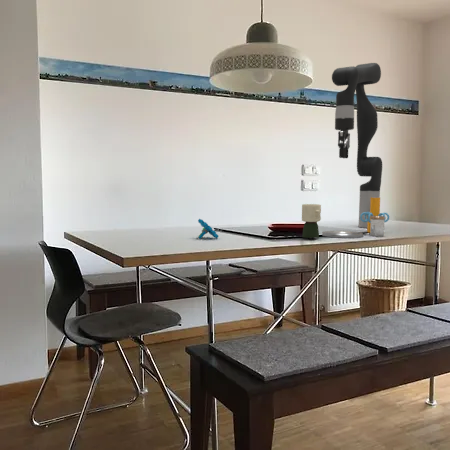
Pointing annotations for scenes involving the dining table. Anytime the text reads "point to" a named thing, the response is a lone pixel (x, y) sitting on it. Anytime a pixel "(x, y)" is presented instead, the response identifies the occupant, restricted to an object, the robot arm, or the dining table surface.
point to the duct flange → (342, 234)
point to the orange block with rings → (373, 212)
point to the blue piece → (206, 229)
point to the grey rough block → (377, 226)
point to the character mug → (311, 220)
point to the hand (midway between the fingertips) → (343, 158)
